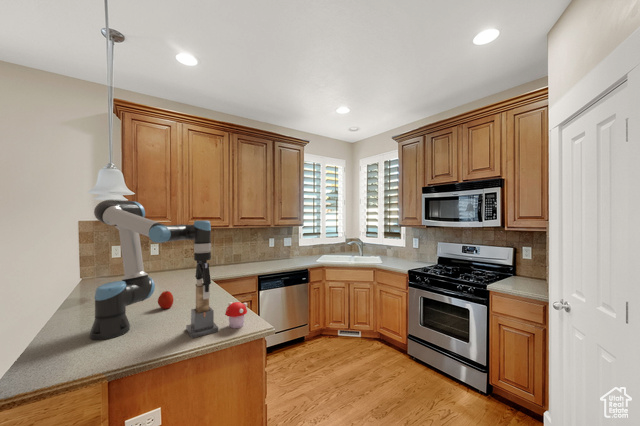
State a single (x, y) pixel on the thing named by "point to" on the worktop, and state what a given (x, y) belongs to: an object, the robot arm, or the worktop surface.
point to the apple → (165, 300)
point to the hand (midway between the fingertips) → (202, 295)
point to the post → (201, 299)
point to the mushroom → (236, 314)
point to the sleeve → (201, 323)
